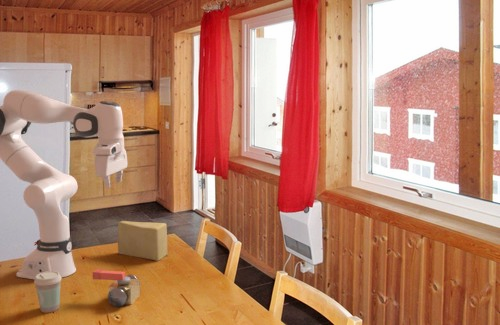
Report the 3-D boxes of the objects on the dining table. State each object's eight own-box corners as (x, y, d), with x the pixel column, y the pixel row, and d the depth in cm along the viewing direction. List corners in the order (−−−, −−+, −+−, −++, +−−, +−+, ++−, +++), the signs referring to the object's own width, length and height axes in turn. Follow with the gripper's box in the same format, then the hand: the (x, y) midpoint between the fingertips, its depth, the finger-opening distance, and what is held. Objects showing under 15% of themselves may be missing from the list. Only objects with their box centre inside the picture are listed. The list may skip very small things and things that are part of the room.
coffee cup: (41, 303, 172) (38, 270, 171) (66, 302, 173) (64, 269, 171) (32, 315, 164) (29, 280, 162) (59, 314, 165) (56, 279, 163)
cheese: (112, 256, 219) (111, 223, 217) (124, 249, 228) (123, 218, 226) (158, 262, 213) (156, 228, 210) (168, 254, 222) (167, 222, 220)
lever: (132, 280, 177) (132, 270, 176) (127, 285, 172) (127, 275, 172) (97, 278, 179) (97, 268, 178) (91, 282, 174) (91, 273, 174)
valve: (106, 306, 170) (105, 288, 169) (121, 290, 183) (120, 274, 182) (128, 308, 169) (127, 289, 168) (142, 292, 182) (141, 275, 181)
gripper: (115, 143, 190) (116, 179, 192) (90, 150, 170) (92, 190, 172) (130, 143, 189) (132, 179, 191) (108, 150, 169) (110, 190, 171)
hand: (113, 184), depth 181 cm, fingers open, 8 cm apart
